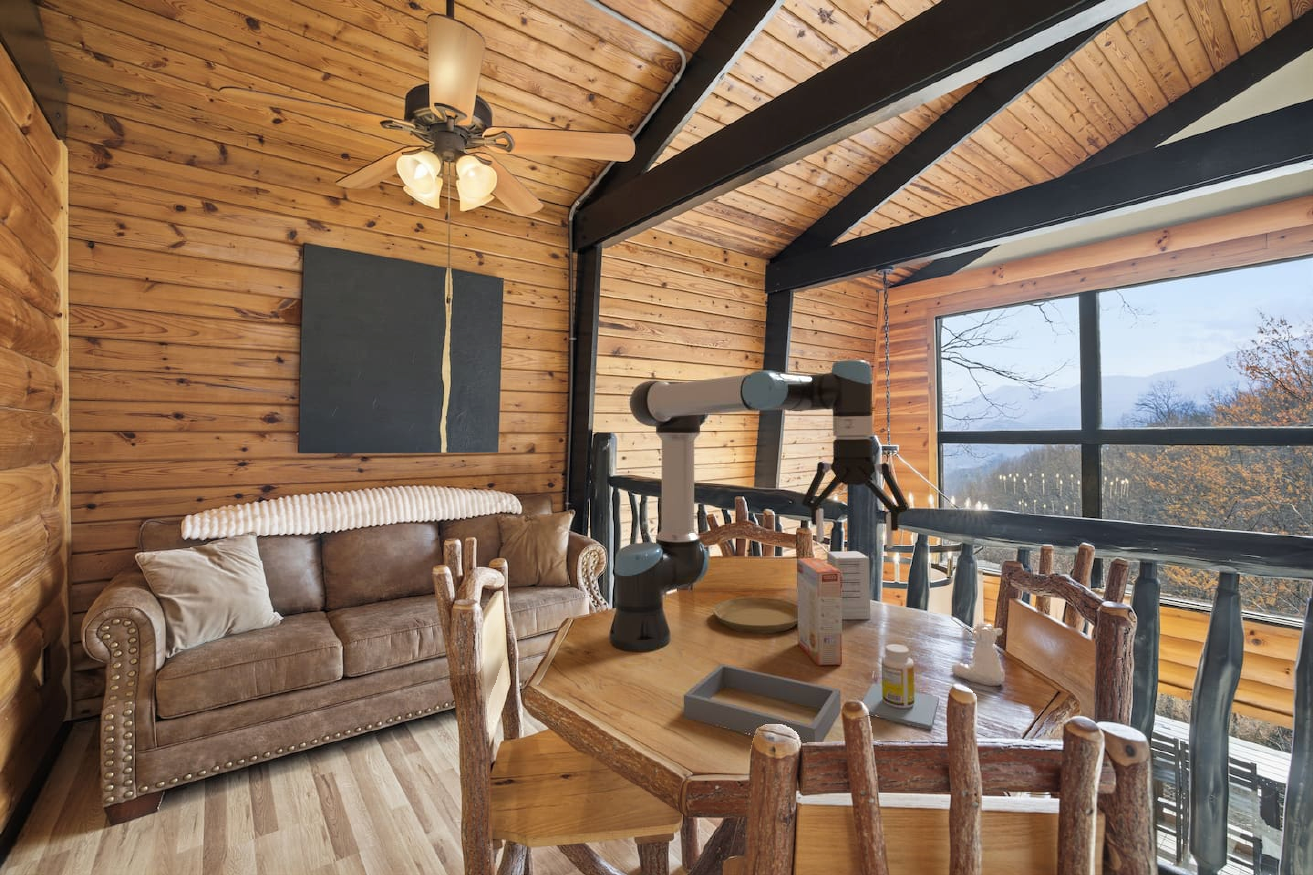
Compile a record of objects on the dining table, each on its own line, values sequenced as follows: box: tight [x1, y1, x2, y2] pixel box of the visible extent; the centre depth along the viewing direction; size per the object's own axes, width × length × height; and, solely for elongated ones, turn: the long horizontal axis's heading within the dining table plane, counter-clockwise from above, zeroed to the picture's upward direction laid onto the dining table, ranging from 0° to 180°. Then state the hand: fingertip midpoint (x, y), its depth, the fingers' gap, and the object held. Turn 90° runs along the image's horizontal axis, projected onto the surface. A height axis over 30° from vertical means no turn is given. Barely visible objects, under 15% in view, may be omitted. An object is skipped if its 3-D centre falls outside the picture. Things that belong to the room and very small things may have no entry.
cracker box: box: [796, 557, 843, 666], centre depth 132 cm, size 14×6×21 cm, turn 4°
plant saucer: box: [712, 596, 798, 634], centre depth 156 cm, size 24×24×3 cm
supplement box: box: [826, 550, 871, 620], centre depth 160 cm, size 10×9×17 cm
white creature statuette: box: [951, 622, 1006, 687], centre depth 118 cm, size 10×9×12 cm
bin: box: [683, 663, 842, 743], centre depth 105 cm, size 24×16×4 cm, turn 58°
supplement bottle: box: [881, 643, 915, 708], centre depth 107 cm, size 6×6×10 cm
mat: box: [862, 683, 940, 731], centre depth 107 cm, size 12×12×1 cm
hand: (854, 544), depth 115 cm, fingers open, 13 cm apart
